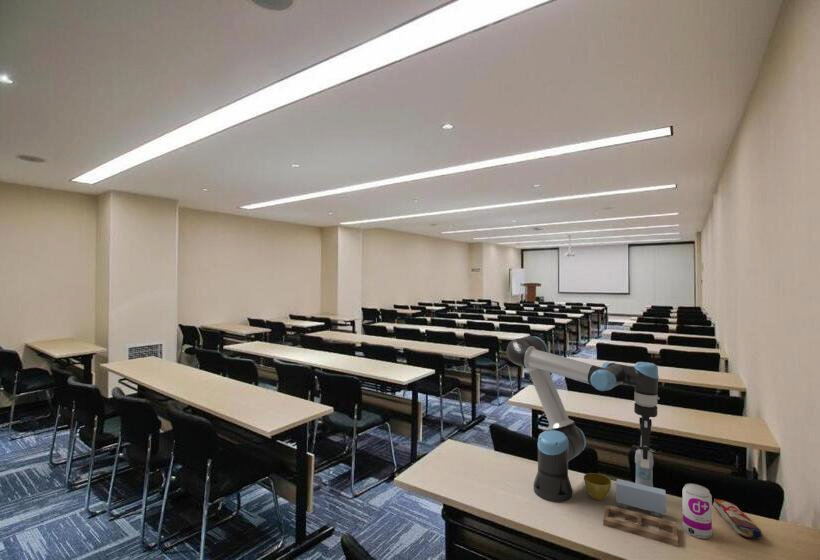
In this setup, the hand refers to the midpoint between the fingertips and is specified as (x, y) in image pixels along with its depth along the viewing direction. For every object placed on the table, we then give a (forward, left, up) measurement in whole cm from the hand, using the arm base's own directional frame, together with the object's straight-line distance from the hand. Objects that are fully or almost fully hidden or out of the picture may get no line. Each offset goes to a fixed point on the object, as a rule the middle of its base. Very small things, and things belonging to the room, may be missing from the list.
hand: (644, 459), depth 151 cm
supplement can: (+16, -6, -19) cm, 25 cm away
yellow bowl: (-16, +1, -19) cm, 25 cm away
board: (-1, -13, -19) cm, 23 cm away
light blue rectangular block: (-1, -1, -19) cm, 19 cm away
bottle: (0, +14, -19) cm, 24 cm away
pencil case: (+28, +7, -19) cm, 35 cm away
